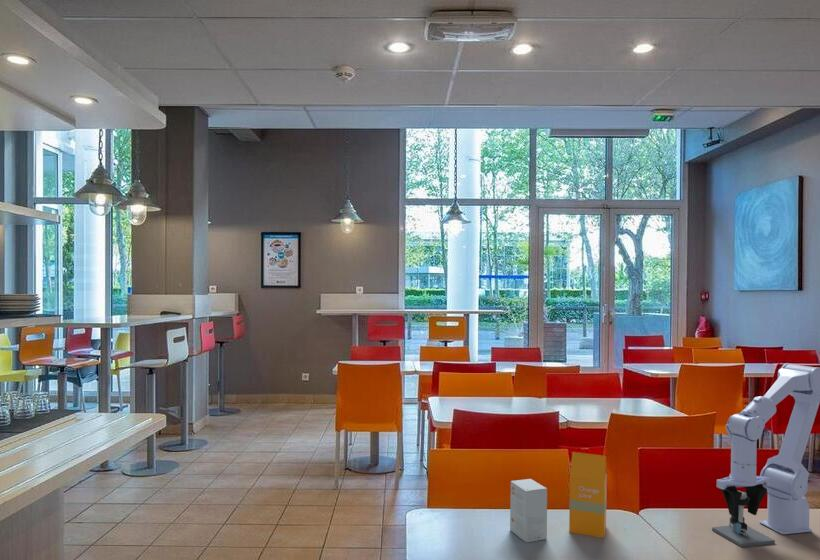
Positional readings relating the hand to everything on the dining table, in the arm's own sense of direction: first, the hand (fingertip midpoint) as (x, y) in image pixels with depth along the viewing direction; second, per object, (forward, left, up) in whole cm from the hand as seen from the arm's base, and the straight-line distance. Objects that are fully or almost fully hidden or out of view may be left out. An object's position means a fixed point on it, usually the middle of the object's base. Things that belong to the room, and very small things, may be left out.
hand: (742, 514), depth 154 cm
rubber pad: (0, 0, -6) cm, 6 cm away
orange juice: (+37, -13, -6) cm, 39 cm away
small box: (+54, -13, -6) cm, 56 cm away
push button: (0, -1, -5) cm, 5 cm away
